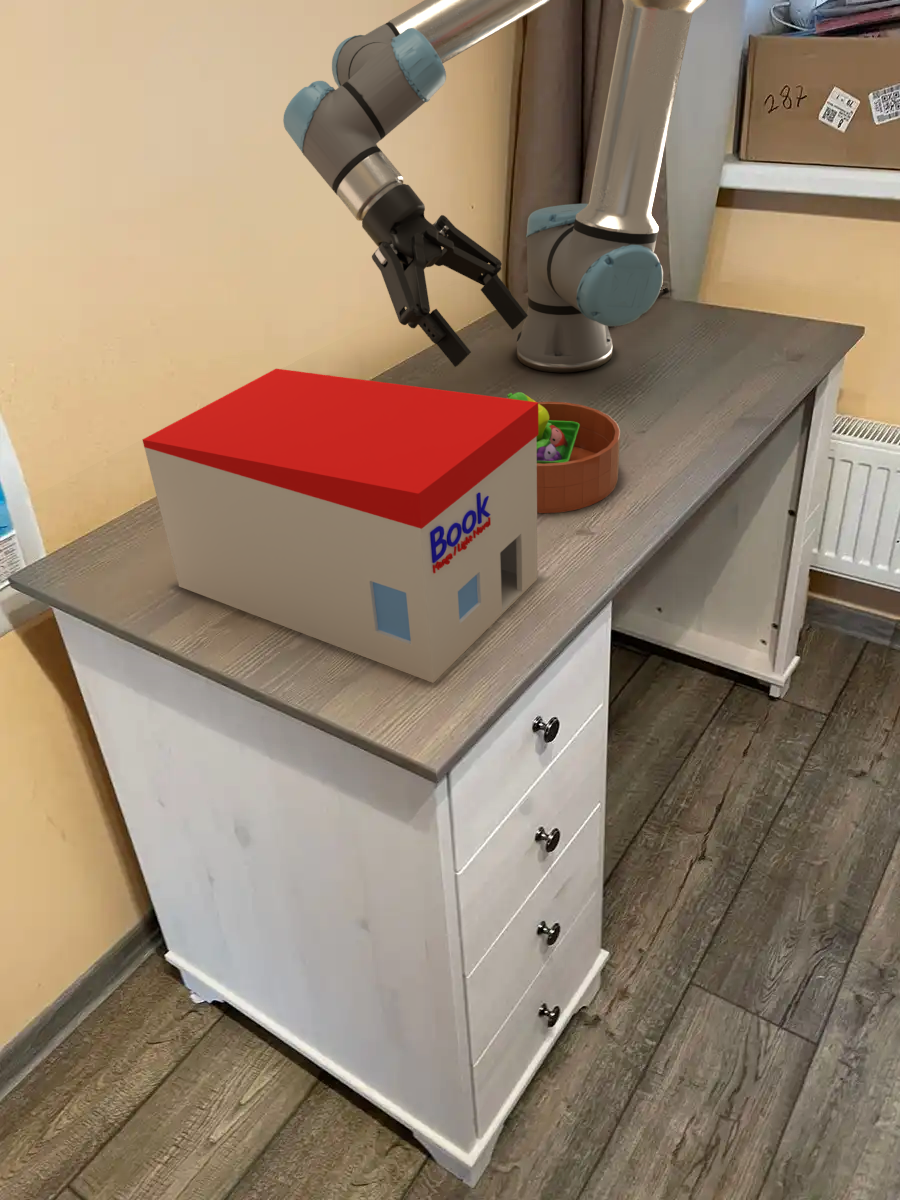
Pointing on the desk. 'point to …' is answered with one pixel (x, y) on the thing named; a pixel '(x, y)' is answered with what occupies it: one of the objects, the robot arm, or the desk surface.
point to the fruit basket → (551, 435)
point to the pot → (580, 461)
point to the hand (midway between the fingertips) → (492, 340)
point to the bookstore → (355, 511)
